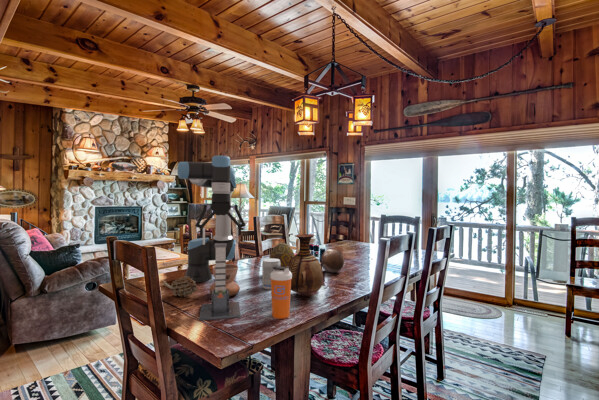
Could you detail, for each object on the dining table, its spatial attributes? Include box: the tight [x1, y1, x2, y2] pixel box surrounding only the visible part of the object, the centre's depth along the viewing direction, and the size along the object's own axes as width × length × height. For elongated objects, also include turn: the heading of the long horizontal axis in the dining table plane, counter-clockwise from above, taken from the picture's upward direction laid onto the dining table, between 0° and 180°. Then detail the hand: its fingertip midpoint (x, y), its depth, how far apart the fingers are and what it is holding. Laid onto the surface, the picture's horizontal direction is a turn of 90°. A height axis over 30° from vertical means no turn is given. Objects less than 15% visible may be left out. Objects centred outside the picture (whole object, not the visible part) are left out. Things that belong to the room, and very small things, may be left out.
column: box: [214, 243, 227, 293], centre depth 137 cm, size 5×5×20 cm
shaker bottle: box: [270, 266, 292, 320], centre depth 134 cm, size 9×9×20 cm
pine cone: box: [162, 275, 198, 298], centre depth 159 cm, size 22×10×10 cm, turn 67°
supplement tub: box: [261, 257, 280, 291], centre depth 174 cm, size 10×10×15 cm
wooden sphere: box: [320, 248, 345, 274], centre depth 208 cm, size 15×15×15 cm
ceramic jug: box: [209, 263, 241, 298], centre depth 161 cm, size 18×14×14 cm
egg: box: [268, 242, 296, 267], centre depth 199 cm, size 16×16×20 cm
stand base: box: [198, 289, 242, 321], centre depth 138 cm, size 16×16×9 cm
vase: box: [288, 233, 324, 297], centre depth 160 cm, size 21×18×30 cm
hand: (220, 243), depth 137 cm, fingers open, 13 cm apart
